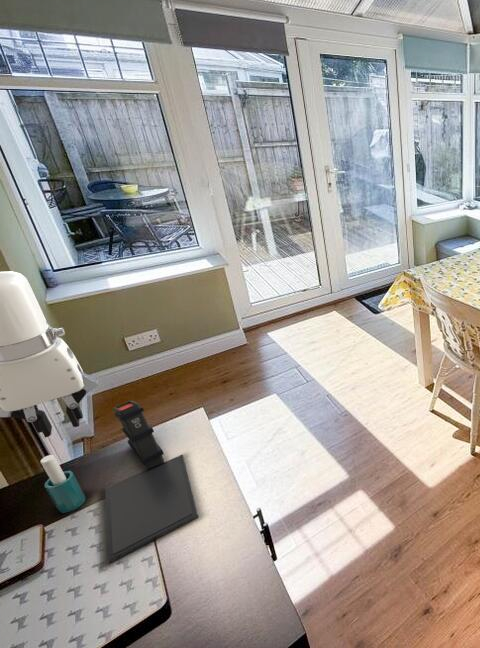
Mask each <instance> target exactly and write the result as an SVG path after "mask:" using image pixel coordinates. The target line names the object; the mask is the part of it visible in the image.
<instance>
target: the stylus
mask: <svg viewBox="0 0 480 648" xmlns="http://www.w3.org/2000/svg"><path fill="white" fill-rule="evenodd" d="M39 463H40V464H41V465H42V467H43V469H44V471H45V473H46V474H47V476H48V479H49V478H50V480H51V481H52V483H53V485H54V486H56V485H59V484H61V483H63V482H64V481H66V480H67V478H66V476H65V475H64V473H63V472H64V471H63V469H62V468H61V465H60V464H59V462H58V460H57V458H56V457H55V455H54V454H49V455H46V456H44V457H43V458H41V460H40V461H39Z"/></svg>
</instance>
